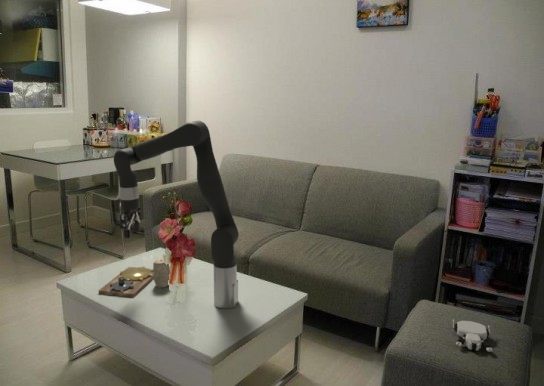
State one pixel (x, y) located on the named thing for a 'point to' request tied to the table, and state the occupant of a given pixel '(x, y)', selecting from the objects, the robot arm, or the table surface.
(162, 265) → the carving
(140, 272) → the gear board
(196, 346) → the table surface
